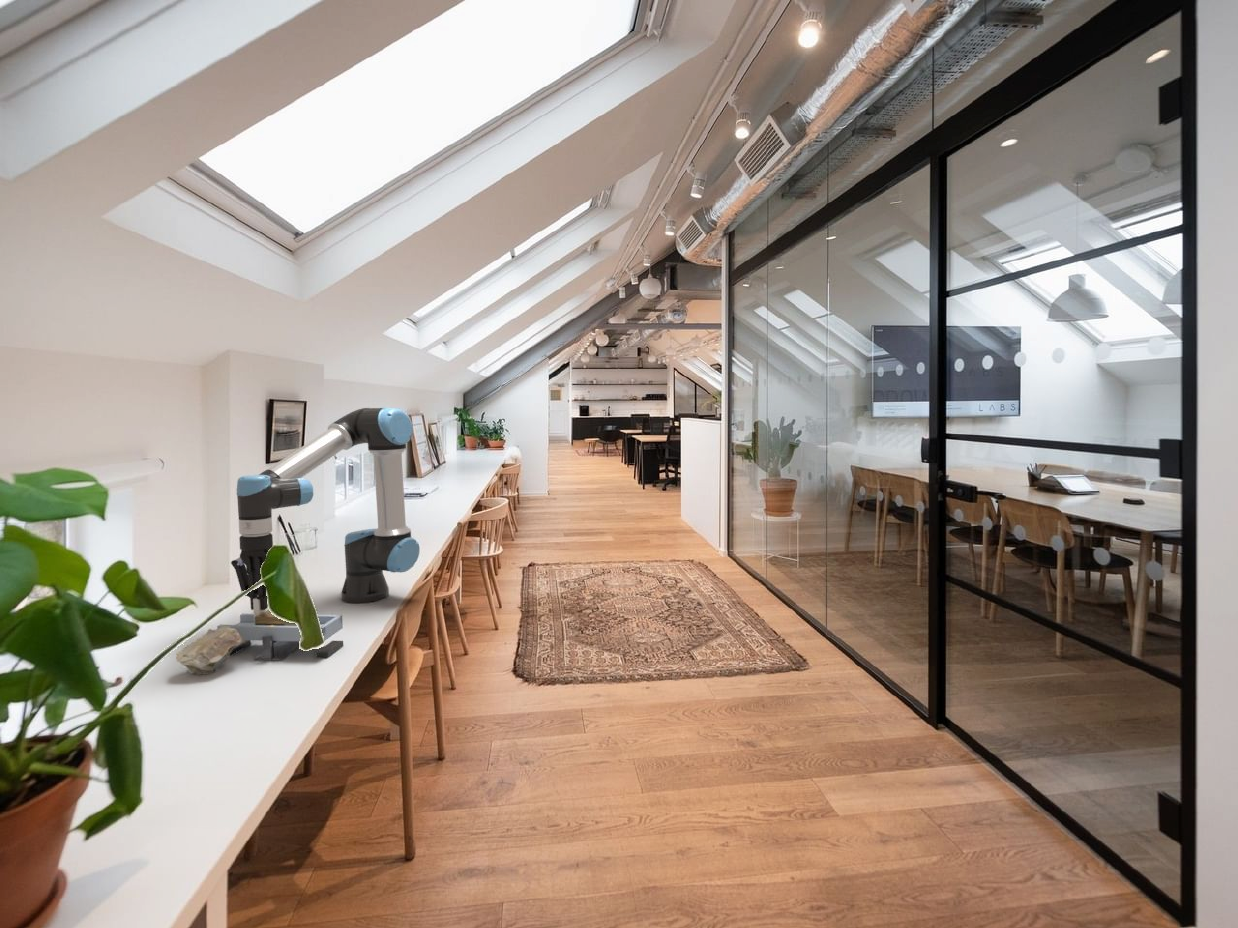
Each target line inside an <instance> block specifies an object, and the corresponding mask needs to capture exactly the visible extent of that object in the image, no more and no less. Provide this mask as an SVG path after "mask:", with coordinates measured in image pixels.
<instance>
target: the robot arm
mask: <svg viewBox="0 0 1238 928" xmlns="http://www.w3.org/2000/svg"><path fill="white" fill-rule="evenodd" d="M413 432H414V427H413V422H412V420H411V418H410V416H409V414H407V413H406V412H405V411H404V410H402V409H400V408H394V407H372V408H371V407H362V408H358V409H356V410H353V411H352V412H349V413H347V414H345V415H343V416H342V417H340V418H338V419H337V420H335V421H333V422H332V423H330V424H329V425H328V426H327V430H325V431H324V432H323V433H321V434H320V435H318V436H316V437H315V438H314V439H312V440H310V441H309V442H308V443H306V444H305V445H303V446H301V447H299V448H298V449H296V450H295V451H294V452H291V454H289V455H287V456H285V457H284V458H282V459H281V460H279V461H278V462H276V463H275V464H273V465H271V466H270V467H268V468H267V469H265V470H263V471H262V472H261V473H259V474H252V475H250V474H249V475H241V476H240V477H238V479H237V483H236V496H237V497H236V498H237V515H238V531H239V532H238V533H239V535H240V536H239V550H240V554H239V557H238V558H236V559H234V560H231V561H230V564H231V565H232V567H233V568H234V570H235V572H236V573H235V574H236V577H237V580H238V584H239V587H240V591H241V592H242V591H244V590H247V589H248V588H250V587H251V586H252V585H254V584H255V583H256V582H258V581H259V580H260V579H261V574H260V568H261V565H262V563H263V562H264V561H265V559H266V554H267V552H268V550H269V549H270V548H271V547H272V546H274V541H273V534H272V531H273V518H272V516H273V515H272V512H273V511H272V510H276V509H279V508H280V509H283V508H289V507H300V506H302V505H306V504H309V503H310V502H312V500H313V497H314V487H313V484H312V483H311V481H310V480H308V479H307V478H305V476H306V475H307V474H309V473H311V472H312V471H313V470H315V469H317V468H318V467H319V466H321V465H322V464H323V463H325V462H326V461H329V459H331V458H333V457H334V456H335V455H337V454H338V453H340V452H341V451H343V450H345V451H346V450H347V451H348V450H350V449H351V448H353V447H354V446H357V445H361V444H367V449H368V451H369V452H370V453H371V454H372V455H373V463H374V464H373V467H374V479H375V481H374V483H375V496H376V497H375V499H376V515H377V525H378V526H377V528H369V529H368V528H367V529H361V530H356V531H352V532H351V531H350V532H348V533H347V534H346V535H345V537H344V557H345V574H346V575H345V576H346V577H345V580H344V583H343V587H342V590H341V593H340V595H341V596H340V597H341V600H342V602H346V603H350V604H351V603H352V604H360V603H361V604H362V603H370V602H372V603H373V602H375V601H379V600H382V599H385V598H387V597H388V596H389V594H390V590H389V588H390V587H389V586H388V583H387V580H386V577H385V575H384V572H383V571H385V572H390V573H405V572H408V571H409V570H411V569H412V568H413V567H414V565H415V564H416V562H417V561H418V559H419V555H420V551H421V550H420V545H419V542H418V541H417V540H416V538H414V537H412V531H411V528H410V527H409V526H407V525H406V524H407V522H406V507H405V506H406V505H405V504H406V503H405V488H404V474H403V473H404V471H403V456H402V455H403V453H404V452H405V451H406V450H407V443H409V442H410V441H411V438H412V437H413V435H414V434H413ZM272 548H273V547H272ZM386 596H387V597H386ZM244 597H249V599H250V601H249V602H250V610H251V611H252V610H253V614H254V623H255V616H257V615H259V614H261V613H263V612H265V611H266V610H268V607H269V604H267V599H268V597H267V596H266V587H265V586H264V585H262V586H260V587H259V588H257V589H255V590H252V591H251V592H249V593H248V594H247V595H245V596H244Z"/></svg>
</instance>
